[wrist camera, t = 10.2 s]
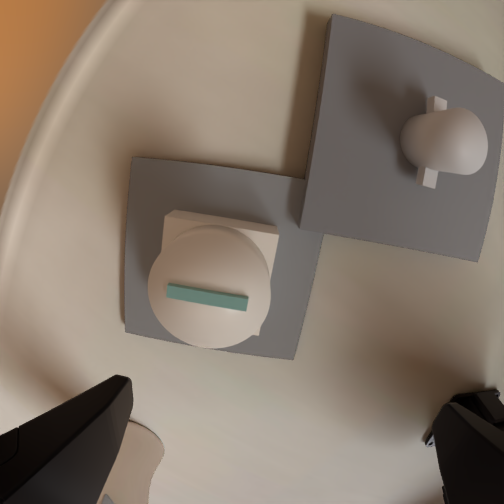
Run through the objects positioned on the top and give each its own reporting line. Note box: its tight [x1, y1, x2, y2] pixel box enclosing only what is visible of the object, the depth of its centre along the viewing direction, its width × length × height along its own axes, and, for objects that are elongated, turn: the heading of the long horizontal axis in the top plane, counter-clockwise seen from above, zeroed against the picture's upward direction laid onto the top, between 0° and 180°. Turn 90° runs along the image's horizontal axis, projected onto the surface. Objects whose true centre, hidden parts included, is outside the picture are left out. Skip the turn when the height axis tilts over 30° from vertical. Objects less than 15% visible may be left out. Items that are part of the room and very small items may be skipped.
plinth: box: [298, 14, 504, 262], centre depth 14 cm, size 12×12×6 cm
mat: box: [124, 157, 324, 360], centre depth 18 cm, size 11×11×1 cm
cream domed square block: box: [148, 210, 279, 348], centre depth 16 cm, size 6×6×4 cm
